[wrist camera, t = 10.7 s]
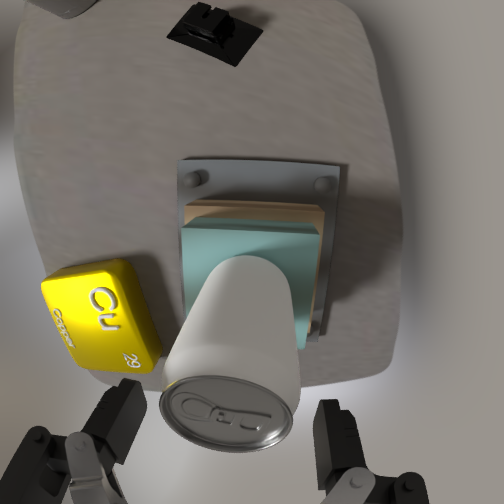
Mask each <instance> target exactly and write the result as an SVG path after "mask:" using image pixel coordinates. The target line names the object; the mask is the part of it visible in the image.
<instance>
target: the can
mask: <svg viewBox="0 0 504 504" xmlns="http://www.w3.org/2000/svg"><path fill="white" fill-rule="evenodd" d="M161 386H162V392H163V393H162V395H161V397H160V401H159V407H160V412H161V415H162V417H163V419H164V420H165V422H166V423H167V424H168V425H169V426H170V428H171V429H173V430H174V431H175V432H176V433H177V434H179V435H180V436H181V437H183V438H185V439H186V440H188V441H190V442H192V443H194V444H197V445H199V446H202V447H205V448H208V449H212V450H216V451H221V452H229V453H247V452H254V451H260V450H263V449H267V448H269V447H272V446H274V445H276V444H278V443H279V442H281V441H282V440H283V439H284V438H285V437H286V436H287V435H288V434H289V432H290V430H291V428H292V425H293V414H294V413H295V411H296V409H297V407H298V404H299V401H300V392H301V387H300V372H299V361H298V351H297V341H296V332H295V323H294V314H293V306H292V299H291V292H290V287H289V284H288V281H287V279H286V277H285V275H284V274H283V273H282V271H281V270H280V269H279V268H278V267H277V266H276V265H274V264H273V263H271V262H270V261H268V260H266V259H263V258H260V257H257V256H250V255H242V256H235V257H232V258H229V259H227V260H225V261H223V262H221V263H220V264H219V265H217V266H216V267H215V268H214V269H213V271H212V272H211V273H210V274H209V276H208V278H207V280H206V281H205V283H204V285H203V287H202V289H201V291H200V293H199V295H198V297H197V299H196V301H195V303H194V305H193V307H192V309H191V311H190V313H189V315H188V317H187V319H186V321H185V323H184V325H183V327H182V329H181V331H180V333H179V335H178V337H177V339H176V341H175V343H174V345H173V347H172V349H171V351H170V354H169V356H168V358H167V360H166V363H165V365H164V368H163V371H162V376H161Z"/></svg>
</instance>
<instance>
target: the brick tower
mask: <svg viewBox="0 0 504 504" xmlns="http://www.w3.org/2000/svg"><path fill="white" fill-rule="evenodd" d="M339 175H340V167H339V166H330V165H320V164H308V163H295V162H279V161H258V160H178V167H177V196H178V237H179V259H180V275H181V290H182V302H183V314H184V323H185V321H186V319H187V317H188V315H189V313H190V311H191V309H192V307H193V305H194V303H195V301H196V299H197V297H198V295H199V293H200V291H201V289H202V287H203V285H204V283H205V281H206V280H207V278H208V276H209V274H210V273H211V272H212V271H213V269H214V268H215V267H216V266H217V265H219V264H220V263H221V262H223V261H225V260H227V259H229V258H232V257H235V256H242V255H250V256H257V257H260V258H263V259H266V260H268V261H270V262H271V263H273V264H274V265H276V266H277V267H278V268H279V269H280V270H281V271H282V273H283V274H284V275H285V277H286V279H287V281H288V284H289V287H290V292H291V299H292V306H293V314H294V323H295V332H296V341H297V349H305V343H306V342H318V338H319V332H320V327H321V322H322V316H323V310H324V304H325V298H326V292H327V285H328V278H329V272H330V264H331V257H332V249H333V240H334V232H335V222H336V212H337V201H338V189H339Z"/></svg>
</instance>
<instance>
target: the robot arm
mask: <svg viewBox="0 0 504 504" xmlns="http://www.w3.org/2000/svg"><path fill="white" fill-rule="evenodd" d="M24 1H26V2H29V3H31V4H33V5H36V6H38V7H40V8H42V9H44V10H47V11H49V12H51V13H53V14H55V15H57V16H59V17H61V18H64V19H69V18H72V17H75V16H77V15H79V14H81V13H82V12H84V11H85V10H86V9H88V8H89V7H90V6H91V5H92V4H93V3H94V2H95V1H96V0H24ZM146 410H147V401H146V398H145V395H144V392H143V389H142V386H141V383H140V382H139V381H136V380H131V379H127V378H124V379H122V381H121V382H120V384H119V386H118V387H116V386H112V387H111V388H110V389H108V390H107V391H106V392H105V393H104V395H103V396H102V398H101V399H100V401H99V403H98V404H97V407H96V408H95V409H94V411H93V413H92V414H91V416H90V418H89V419H88V421H87V422H86V424H85V426H84V428H83V429H82V430H81V431H80V432H74V433H72V434H70V435H69V436H68V437H67V436H58V435H52V434H50V432H49V431H48V430H47V429H46V428H45V427H42V426H35V427H32V428H31V429H30V430H29V431H28V432H27V434H26V435H25V437H24V439H23V440H22V442H21V444H20V446H19V448H18V449H17V451H16V453H15V454H14V456H13V458H12V460H11V461H10V463H9V465H8V467H7V469H6V471H5V472H4V474H3V477H2V478H1V480H0V504H61V503H62V500H63V498H64V495H65V493H66V490H67V488H68V485H69V488H70V493H71V496H72V500H73V503H74V504H128V503H127V501H126V499H125V497H124V495H123V492H122V490H121V487H120V485H119V482H118V480H117V477H116V474H115V472H114V469H113V466H114V464H115V462H116V463H119V464H121V465H123V464H124V462H125V459H126V457H127V455H128V452H129V450H130V448H131V445H132V443H133V441H134V439H135V436H136V434H137V432H138V429H139V427H140V425H141V423H142V421H143V418H144V416H145V413H146ZM313 437H314V447H315V457H316V468H317V480H318V490H326V498H325V499H324V500H323V501H322V502H321V504H429V499H428V495H427V490H426V486H425V482H424V479H423V478H422V476H421V475H419V474H417V473H415V472H406V473H403V474H402V475H400V476H399V477H398V478H397V477H384V476H378V475H375V474H374V473H372V472H371V471H370V470H369V469H368V468H367V466H366V463H365V458H364V454H363V450H362V445H361V441H360V437H359V433H358V429H357V424H356V420H355V417H354V416H353V415H352V414H351V412H350V411H349V410H340V406H339V402H338V400H337V399H328V400H320V401H319V405H318V408H317V411H316V415H315V417H314V421H313ZM71 478H72V483H70V481H71ZM69 483H70V484H69Z"/></svg>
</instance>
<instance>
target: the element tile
mask: <svg viewBox="0 0 504 504" xmlns="http://www.w3.org/2000/svg"><path fill="white" fill-rule="evenodd" d="M41 289H42V294H43V296H44V299H45V301H46V304H47V306H48V309H49V310H50V313H51V315H52V318H53V320H54V322H55V324H56V326H57V329H58V331H59V333H60V335H61V337H62V339H63V341H64V343H65V345H66V346H67V349H68V350H69V352H70V354H71V356H72V358H73V359H74V361H75V362H76V363H77V364H78V366H80V367H82V368H85V369H90V370H99V371H110V372H123V373H140V374H147V373H150V372H152V370H153V369H154V367H155V365H156V364H157V362H158V360H159V358H160V356H161V354H162V350H163V348H162V344H161V342H160V339H159V337H158V334H157V332H156V329H155V327H154V324H153V321H152V319H151V316H150V313H149V311H148V308H147V305H146V302H145V299H144V296H143V294H142V291H141V288H140V285H139V282H138V278H137V275H136V273H135V270H134V268H133V267H132V265H131V264H130V263H129V262H127V261H126V260H124V259H119V258H117V259H111V260H105V261H100V262H94V263H89V264H83V265H78V266H72V267H67V268H62V269H59V270H58V271H56V272H54V273H53V274H51V275H50V276H48V277H47V278H45V279H44V280H43V281H42V283H41Z"/></svg>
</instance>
